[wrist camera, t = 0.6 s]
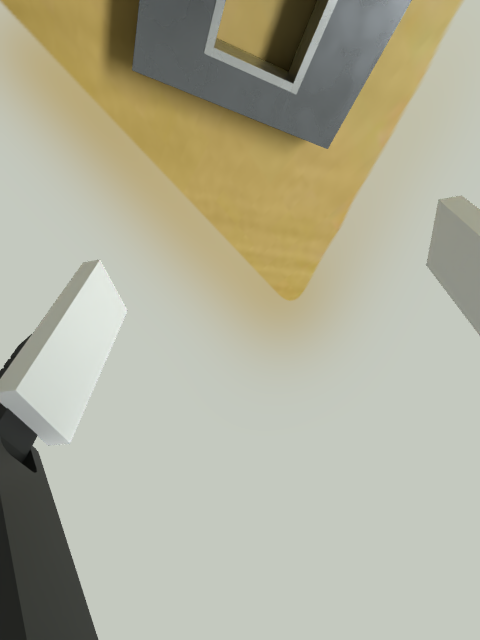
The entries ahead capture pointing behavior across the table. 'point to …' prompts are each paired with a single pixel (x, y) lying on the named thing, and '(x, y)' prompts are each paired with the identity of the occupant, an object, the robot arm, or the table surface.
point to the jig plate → (261, 76)
